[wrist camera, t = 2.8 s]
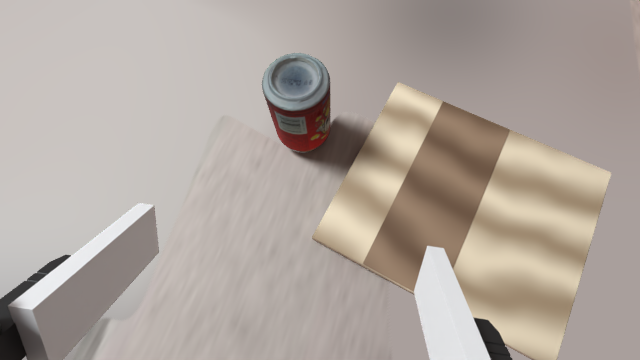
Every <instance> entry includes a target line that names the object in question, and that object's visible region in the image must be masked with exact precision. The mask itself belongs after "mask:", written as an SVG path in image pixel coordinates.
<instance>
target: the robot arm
mask: <svg viewBox="0 0 640 360" xmlns="http://www.w3.org/2000/svg"><path fill="white" fill-rule="evenodd" d="M158 253H159V247H158V237H157V228H156V218H155V208H154V205H149V204H142V203H138V204H137V205H136V206H134V207H133V208H132V209H130V210H129V211H128V212H127V213H125V214H124V215H123V216H122V217H120V218H119V219H118V220H116V221H115V222H114V223H113V224H112V225H110V226H109V227H108V228H106V229H105V230H104V231H102V232H101V233H100V234H99V235H97V236H96V237H95V238H94V239H92V240H91V241H90V242H88V243H87V244H86V245H85V246H83V247H82V248H81V249H80V250H78V251H77V252H76V253H74V254H73V255H72V256H70V255H64V256H62V257H60V258H58V259H55V260H53V261H51V262H49V263H48V264H47V265H45V266H44V267H43V268H41V269H40V270H39V271H38V272H37V273H35V274H33V275H32V276H31V277H30V278H28V279H27V281H24V282H23V283H21V284H20V285H19V286H17V287H16V288H15V289H13V290H12V291H11V292H9V293H8V294H7V295H5V296H4V297H3V298H1V299H0V360H22V359H23V358H24V357H25V356H26V357H27V360H63V359H64V358H65V357H66V356H67V355H68V353H69V352H70V351H71V350H72V349H73V348H74V347H75V346H76V344H77V343H78V342H79V341H80V340H81V339H82V338H83V337H84V336H85V334H86V333H87V332H88V331H89V330H90V329H91V328H92V327H93V325H94V324H95V323H96V322H97V321H98V320H99V319H100V318H101V316H102V315H103V314H104V313H105V312H106V311H107V310H108V309H109V308H110V306H111V305H112V304H113V303H114V302H115V301H116V300H117V298H118V297H119V296H120V295H121V294H122V293H123V292H124V291H125V290H126V288H127V287H128V286H129V285H130V284H131V283H132V282H133V281H134V279H135V278H136V277H137V276H138V275H139V274H140V273H141V272H142V270H143V269H144V268H145V267H146V266H147V265H148V264H149V263H150V262H151V261H152V259H153V258H154V257H155V256H156V255H157V254H158ZM414 294H415V299H416V303H417V307H418V311H419V315H420V319H421V324H422V328H423V333H424V337H425V341H426V345H427V349H428V354H429V358H430V360H512V358H510V353H509V352H508V349H507V348H506V347H505V343H504V341H503V339H502V337H501V335H500V333H499V331H498V330H497V329H496V328H495V327H494V326H493V325H492V324H491V323H490V321H489V320H486V319H480V318H473V316H472V314H471V311H470V309H469V307H468V304H467V302H466V300H465V297H464V295H463V292H462V290H461V288H460V285H459V283H458V281H457V278H456V276H455V273H454V271H453V269H452V266H451V264H450V262H449V259H448V257H447V255H446V252H445V250H444V248H439V247H432V246H427V248H426V252H425V255H424V259H423V262H422V265H421V269H420V272H419V275H418V279H417V282H416V285H415V289H414Z"/></svg>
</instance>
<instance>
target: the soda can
mask: <svg viewBox="0 0 640 360" xmlns="http://www.w3.org/2000/svg"><path fill="white" fill-rule="evenodd" d="M262 88H263V93H264V96H265V98H266V101H267V105H268V107H269V110H270V113H271V117H272V119H273V122H274V125H275V128H276V131H277V134H278V137H279V138H280V140H281V141H282V143H283V144H284V145H286V146H287V147H289V148H290V149H293V150H296V151H300V152H308V151H311V150H314V149H315V148H317V147H318V146H320V145H321V144H322V143H323V142H324V141H325V140H326V138H327V137H328V135H329V131H330V77H329V73H328V71H327V69H326V67H325V66H324V65H323V64H322V62H320V61H319V60H318V59H316V58H314V57H312V56H309V55H306V54H302V53H293V54H287V55H284V56H282V57H280V58H278V59H276V60H275V61H274V62H273V63H271V64H270V66H269V67H268V68H267V70H266V71H265V73H264V76H263V81H262Z"/></svg>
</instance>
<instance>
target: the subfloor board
mask: <svg viewBox="0 0 640 360" xmlns="http://www.w3.org/2000/svg"><path fill="white" fill-rule="evenodd" d="M610 176H611V172H608V171H606V170H603V169H601V168H599V167H596V166H594V165H591V164H589V163H587V162H585V161H582V160H580V159H578V158H575V157H573V156H571V155H568V154H566V153H563V152H561V151H559V150H556V149H554V148H552V147H549V146H547V145H545V144H542V143H540V142H538V141H535V140H533V139H531V138H528V137H526V136H524V135H521V134H519V133H517V132H514V131H512V130H509V129H507V128H505V127H502V126H500V125H498V124H495V123H493V122H491V121H488V120H486V119H484V118H481V117H479V116H477V115H474V114H472V113H469V112H467V111H464V110H462V109H460V108H458V107H455V106H453V105H451V104H448V103H446V102H444V101H441V100H439V99H437V98H434V97H432V96H430V95H427V94H425V93H422V92H420V91H418V90H415V89H413V88H411V87H408V86H406V85H404V84H401V83H399V82H398V83H397V85H396V87H395V89H394V90H393V92H392V94H391V96H390V98H389V99H388V101H387V103H386V105H385V106H384V108H383V110H382V112H381V114H380V116H379V117H378V119H377V121H376V123H375V124H374V126H373V128H372V130H371V132H370V134H369V135H368V137H367V139H366V141H365V143H364V144H363V146H362V148H361V150H360V152H359V153H358V155H357V157H356V159H355V161H354V162H353V164H352V166H351V168H350V170H349V171H348V173H347V175H346V177H345V179H344V180H343V182H342V184H341V186H340V188H339V189H338V191H337V193H336V195H335V197H334V198H333V200H332V202H331V204H330V206H329V207H328V209H327V211H326V213H325V215H324V217H323V218H322V220H321V222H320V224H319V226H318V227H317V229H316V231H315V233H314V235H313V236H312V239H313V240H315V241H317V242H319V243H321V244H322V245H324V246H326V247H328V248H330V249H331V250H333V251H335V252H337V253H339V254H341V255H342V256H344V257H346V258H348V259H350V260H351V261H353V262H355V263H357V264H359V265H361V266H362V267H364V268H366V269H368V270H370V271H371V272H373V273H375V274H377V275H379V276H381V277H382V278H384V279H386V280H388V281H390V282H392V283H393V284H395V285H397V286H399V287H401V288H402V289H404V290H406V291H408V292H410V293H412V294H413V295H415V294H414V289H415V285H416V282H417V279H418V275H419V272H420V269H421V265H422V262H423V259H424V255H425V252H426V248H427V246H432V247H439V248H444V250H445V252H446V255H447V257H448V259H449V262H450V264H451V266H452V269H453V271H454V273H455V276H456V278H457V281H458V283H459V285H460V288H461V290H462V292H463V295H464V297H465V300H466V302H467V304H468V307H469V309H470V311H471V314H472V316H473V318H480V319H486V320H489V321H490V323H491V324H492V325H493V326H494V327H495V328H496V329H497V330H498V331H499V333H500V335H501V337H502V339H503V341H504V343H505V345H506V346H508V347H510V348H512V349H513V350H515V351H517V352H519V353H521V354H523V355H524V356H526V357H528V358H530V359H532V360H557V357H558V353H559V350H560V346H561V343H562V340H563V337H564V333H565V330H566V326H567V323H568V319H569V316H570V312H571V309H572V306H573V302H574V299H575V295H576V292H577V289H578V285H579V282H580V279H581V275H582V271H583V268H584V265H585V262H586V258H587V255H588V251H589V247H590V245H591V241H592V237H593V234H594V231H595V227H596V224H597V221H598V217H599V214H600V210H601V207H602V204H603V200H604V196H605V193H606V190H607V187H608V183H609V180H610Z"/></svg>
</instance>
